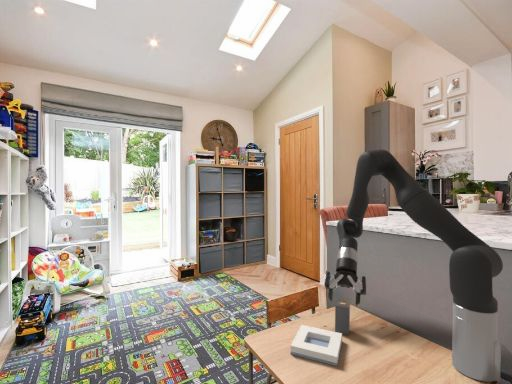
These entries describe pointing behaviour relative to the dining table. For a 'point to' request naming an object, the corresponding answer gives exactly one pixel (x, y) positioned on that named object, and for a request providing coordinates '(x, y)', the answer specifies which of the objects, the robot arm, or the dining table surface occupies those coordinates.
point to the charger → (342, 318)
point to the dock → (317, 344)
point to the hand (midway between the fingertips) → (343, 302)
